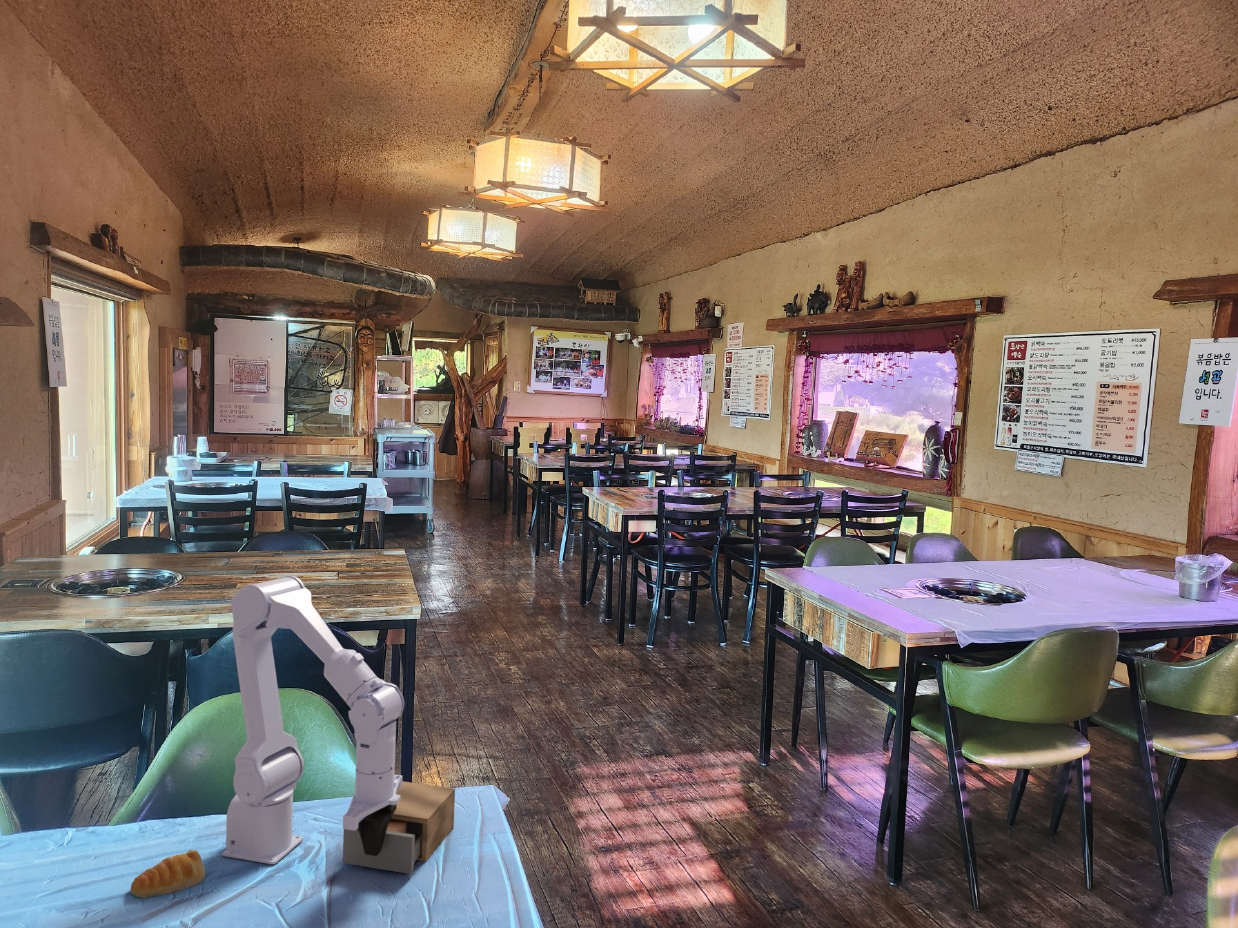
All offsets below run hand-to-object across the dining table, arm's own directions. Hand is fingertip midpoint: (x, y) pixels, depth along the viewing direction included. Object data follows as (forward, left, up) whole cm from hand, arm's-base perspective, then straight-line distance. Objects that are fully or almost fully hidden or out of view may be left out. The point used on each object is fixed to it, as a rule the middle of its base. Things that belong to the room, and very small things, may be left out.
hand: (372, 852), depth 121 cm
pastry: (-28, -9, -4) cm, 29 cm away
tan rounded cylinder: (0, +7, -3) cm, 7 cm away
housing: (0, +12, -4) cm, 12 cm away
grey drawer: (0, +7, -3) cm, 7 cm away
